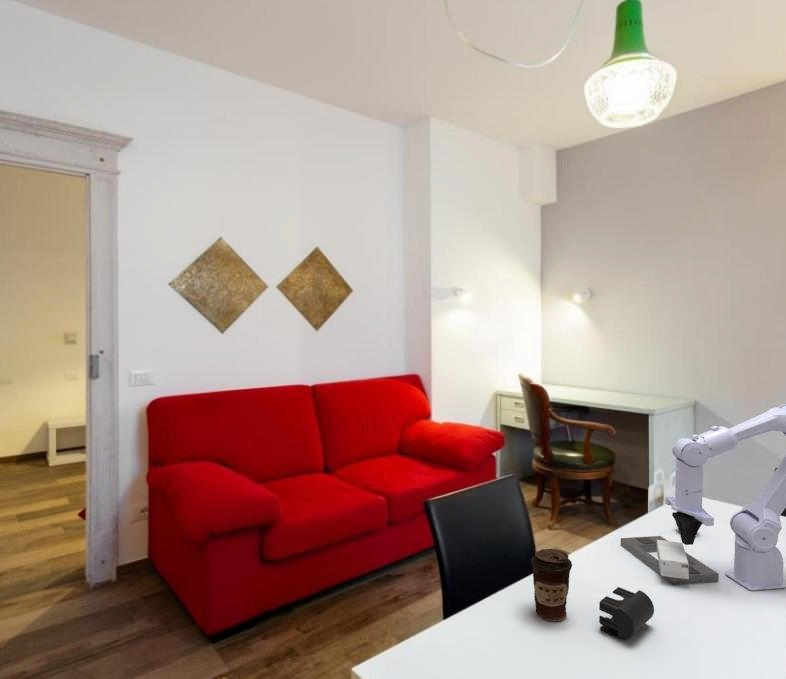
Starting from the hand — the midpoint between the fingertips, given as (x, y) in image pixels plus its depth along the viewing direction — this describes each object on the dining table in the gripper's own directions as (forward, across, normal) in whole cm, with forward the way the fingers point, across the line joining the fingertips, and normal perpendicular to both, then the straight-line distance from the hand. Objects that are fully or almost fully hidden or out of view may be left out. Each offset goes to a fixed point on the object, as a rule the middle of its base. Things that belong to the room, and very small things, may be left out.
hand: (687, 543), depth 126 cm
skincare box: (+4, -7, 0) cm, 8 cm away
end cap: (+9, +18, -27) cm, 34 cm away
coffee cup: (+9, +11, -40) cm, 42 cm away
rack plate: (+8, -8, 0) cm, 12 cm away
